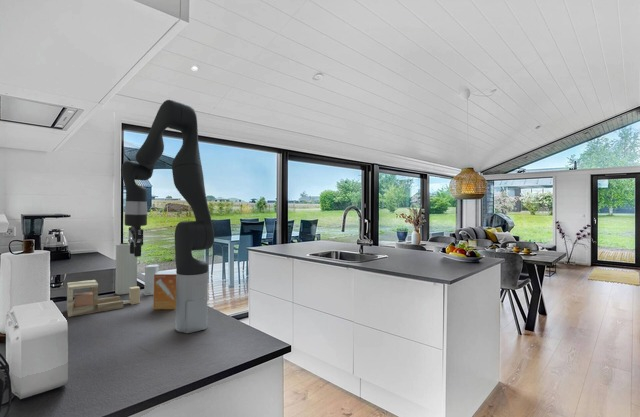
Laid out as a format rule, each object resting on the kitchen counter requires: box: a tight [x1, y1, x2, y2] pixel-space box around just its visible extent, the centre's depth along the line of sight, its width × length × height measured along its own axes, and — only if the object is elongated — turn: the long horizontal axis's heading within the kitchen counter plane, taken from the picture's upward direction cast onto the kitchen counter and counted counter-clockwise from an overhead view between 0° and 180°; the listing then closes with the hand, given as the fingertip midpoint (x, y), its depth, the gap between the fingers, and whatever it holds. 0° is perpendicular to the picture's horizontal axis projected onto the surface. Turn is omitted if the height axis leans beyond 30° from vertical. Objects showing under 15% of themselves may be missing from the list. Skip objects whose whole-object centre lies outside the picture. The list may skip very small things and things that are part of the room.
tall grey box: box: [114, 242, 138, 295], centre depth 138 cm, size 7×6×21 cm
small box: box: [152, 270, 176, 310], centre depth 121 cm, size 8×6×13 cm
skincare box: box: [143, 264, 160, 296], centre depth 139 cm, size 6×4×12 cm
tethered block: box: [73, 285, 141, 308], centre depth 120 cm, size 5×20×6 cm, turn 130°
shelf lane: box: [66, 279, 124, 318], centre depth 117 cm, size 9×16×10 cm, turn 130°
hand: (135, 255), depth 125 cm, fingers open, 8 cm apart
